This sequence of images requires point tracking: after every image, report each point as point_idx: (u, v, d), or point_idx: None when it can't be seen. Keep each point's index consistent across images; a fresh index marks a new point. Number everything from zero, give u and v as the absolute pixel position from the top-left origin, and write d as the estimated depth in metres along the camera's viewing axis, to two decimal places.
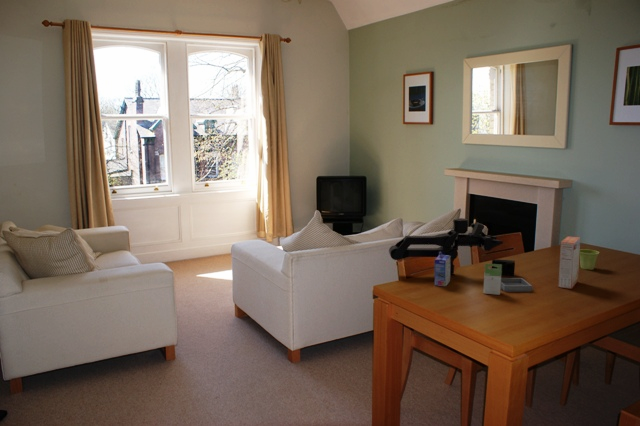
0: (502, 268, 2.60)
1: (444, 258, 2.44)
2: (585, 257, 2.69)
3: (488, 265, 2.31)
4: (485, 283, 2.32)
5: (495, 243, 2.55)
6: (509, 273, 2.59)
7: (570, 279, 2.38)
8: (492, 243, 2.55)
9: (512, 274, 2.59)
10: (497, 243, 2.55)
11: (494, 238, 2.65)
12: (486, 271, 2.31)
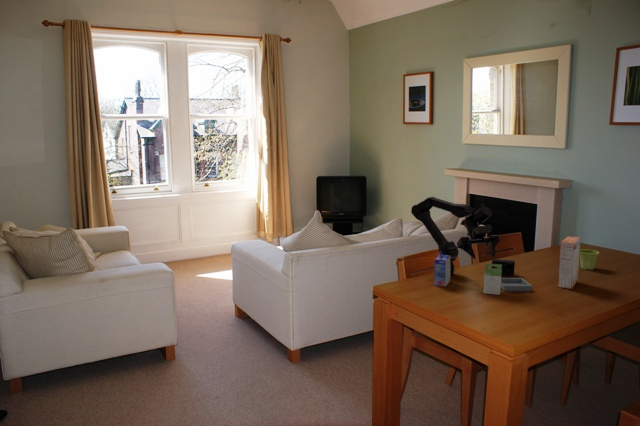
0: (502, 268, 2.60)
1: (444, 258, 2.44)
2: (585, 257, 2.69)
3: (488, 265, 2.31)
4: (485, 283, 2.32)
5: (469, 251, 2.40)
6: (509, 273, 2.59)
7: (570, 279, 2.38)
8: (468, 248, 2.41)
9: (512, 274, 2.59)
10: (470, 253, 2.40)
11: (492, 255, 2.41)
12: (486, 271, 2.31)
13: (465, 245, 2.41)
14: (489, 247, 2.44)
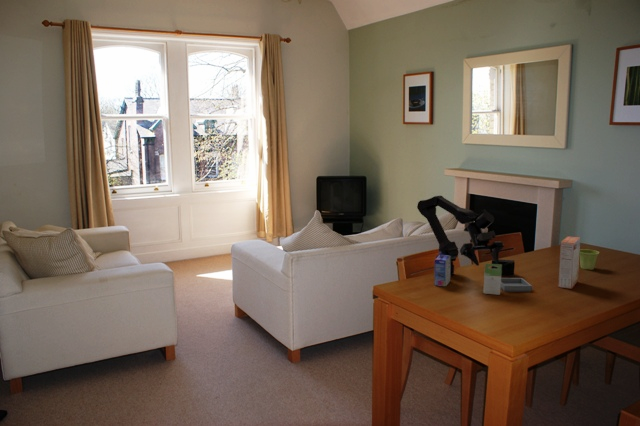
0: (502, 268, 2.60)
1: (444, 258, 2.44)
2: (585, 257, 2.69)
3: (488, 265, 2.31)
4: (485, 283, 2.32)
5: (472, 258, 2.37)
6: (509, 273, 2.59)
7: (570, 279, 2.38)
8: (471, 255, 2.38)
9: (512, 274, 2.59)
10: (473, 260, 2.37)
11: (496, 261, 2.38)
12: (486, 271, 2.31)
13: (468, 252, 2.38)
14: (492, 254, 2.42)
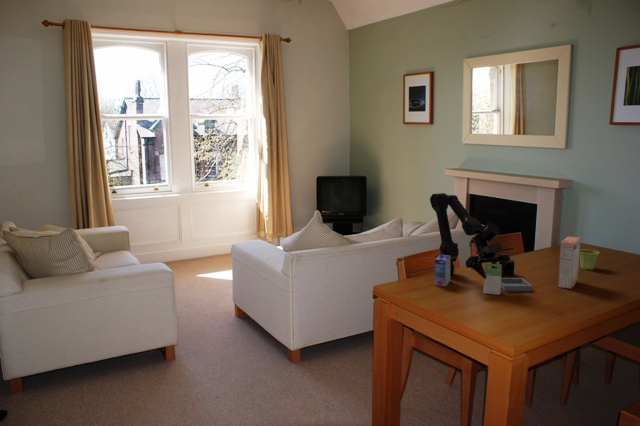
0: None
1: (444, 258, 2.44)
2: (585, 257, 2.69)
3: (488, 265, 2.31)
4: (485, 283, 2.32)
5: (479, 271, 2.33)
6: (509, 273, 2.59)
7: (570, 279, 2.38)
8: (478, 268, 2.33)
9: (512, 274, 2.59)
10: (480, 273, 2.32)
11: (501, 275, 2.33)
12: (486, 271, 2.31)
13: (475, 264, 2.33)
14: None
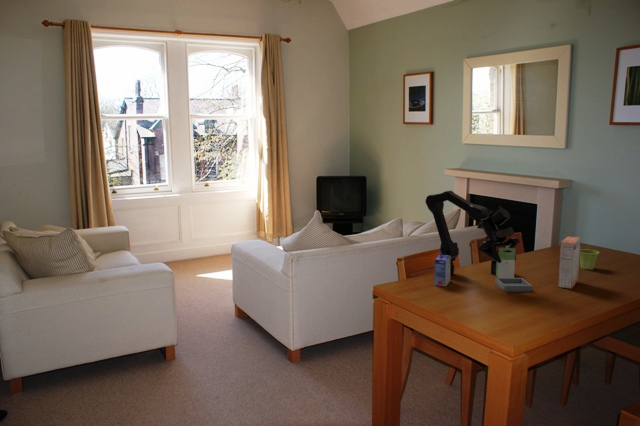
0: None
1: (444, 258, 2.44)
2: (585, 257, 2.69)
3: (502, 249, 2.33)
4: (499, 267, 2.34)
5: (494, 255, 2.34)
6: None
7: (570, 279, 2.38)
8: (492, 252, 2.35)
9: None
10: (495, 257, 2.34)
11: None
12: (500, 255, 2.33)
13: (490, 249, 2.34)
14: (508, 250, 2.40)
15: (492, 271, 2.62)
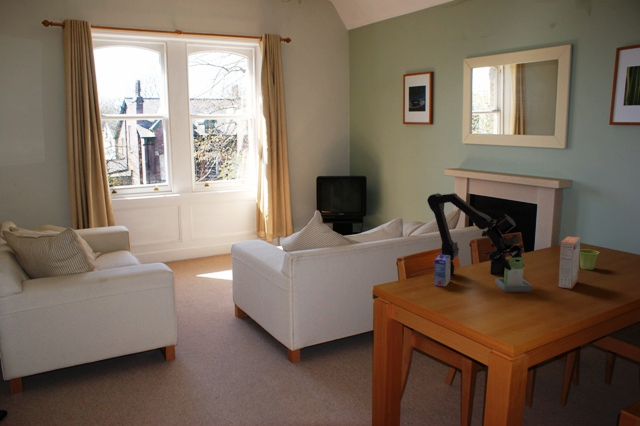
0: (501, 267, 2.61)
1: (444, 258, 2.44)
2: (585, 257, 2.69)
3: (512, 259, 2.38)
4: (509, 277, 2.39)
5: (503, 263, 2.38)
6: None
7: (570, 279, 2.38)
8: (501, 260, 2.38)
9: None
10: (504, 265, 2.38)
11: None
12: (510, 265, 2.38)
13: (499, 257, 2.38)
14: (514, 257, 2.45)
15: (492, 271, 2.62)
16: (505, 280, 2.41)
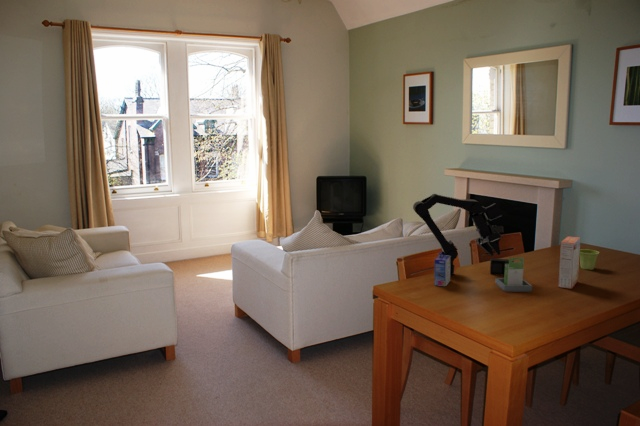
0: (501, 267, 2.61)
1: (444, 258, 2.44)
2: (585, 257, 2.69)
3: (512, 259, 2.38)
4: (509, 277, 2.39)
5: (496, 247, 2.51)
6: None
7: (570, 279, 2.38)
8: (494, 244, 2.51)
9: None
10: (496, 249, 2.51)
11: (491, 253, 2.61)
12: (510, 265, 2.38)
13: (496, 240, 2.50)
14: (484, 245, 2.62)
15: (492, 271, 2.62)
16: (505, 280, 2.41)
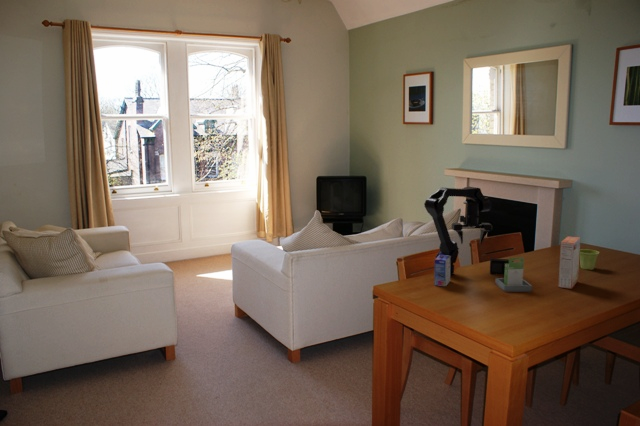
0: (501, 267, 2.61)
1: (444, 258, 2.44)
2: (585, 257, 2.69)
3: (512, 259, 2.38)
4: (509, 277, 2.39)
5: None
6: None
7: (570, 279, 2.38)
8: None
9: None
10: None
11: None
12: (510, 265, 2.38)
13: None
14: None
15: (492, 270, 2.62)
16: (505, 280, 2.41)
